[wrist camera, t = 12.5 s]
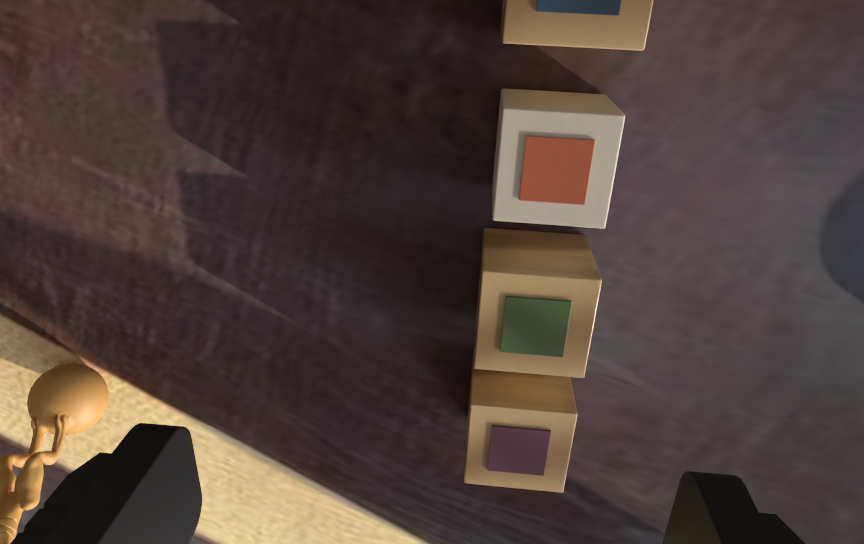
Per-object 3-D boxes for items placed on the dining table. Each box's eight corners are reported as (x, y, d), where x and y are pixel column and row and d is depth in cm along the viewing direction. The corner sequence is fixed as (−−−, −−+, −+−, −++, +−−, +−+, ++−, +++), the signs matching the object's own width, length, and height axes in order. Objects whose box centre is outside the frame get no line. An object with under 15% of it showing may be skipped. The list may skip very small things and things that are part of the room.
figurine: (140, 343, 35) (-16, 505, 24) (176, 425, 37) (50, 605, 27) (14, 357, 36) (-188, 517, 26) (57, 436, 39) (-109, 612, 28)
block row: (511, -104, 24) (516, -124, 19) (640, -99, 24) (676, -118, 19) (467, 419, 35) (463, 484, 31) (554, 427, 35) (563, 494, 30)
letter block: (500, 88, 27) (502, 108, 23) (605, 94, 27) (626, 115, 23) (492, 186, 29) (492, 221, 25) (589, 193, 29) (605, 230, 25)
